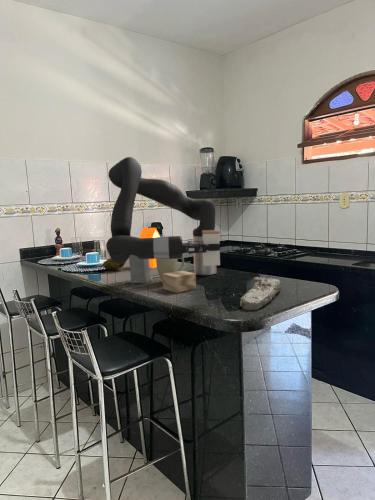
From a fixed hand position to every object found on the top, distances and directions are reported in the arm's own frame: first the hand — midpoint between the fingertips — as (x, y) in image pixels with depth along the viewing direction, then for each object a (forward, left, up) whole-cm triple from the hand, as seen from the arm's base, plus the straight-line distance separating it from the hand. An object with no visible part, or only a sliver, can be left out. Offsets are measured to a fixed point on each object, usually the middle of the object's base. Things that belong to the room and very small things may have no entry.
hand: (218, 246), depth 127 cm
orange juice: (-1, -75, -18) cm, 78 cm away
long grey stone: (-13, +5, -18) cm, 23 cm away
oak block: (+6, -20, -18) cm, 28 cm away
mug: (+5, -33, -18) cm, 38 cm away
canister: (+2, -1, -6) cm, 7 cm away
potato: (+19, -74, -18) cm, 79 cm away
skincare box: (+15, -41, -18) cm, 48 cm away
